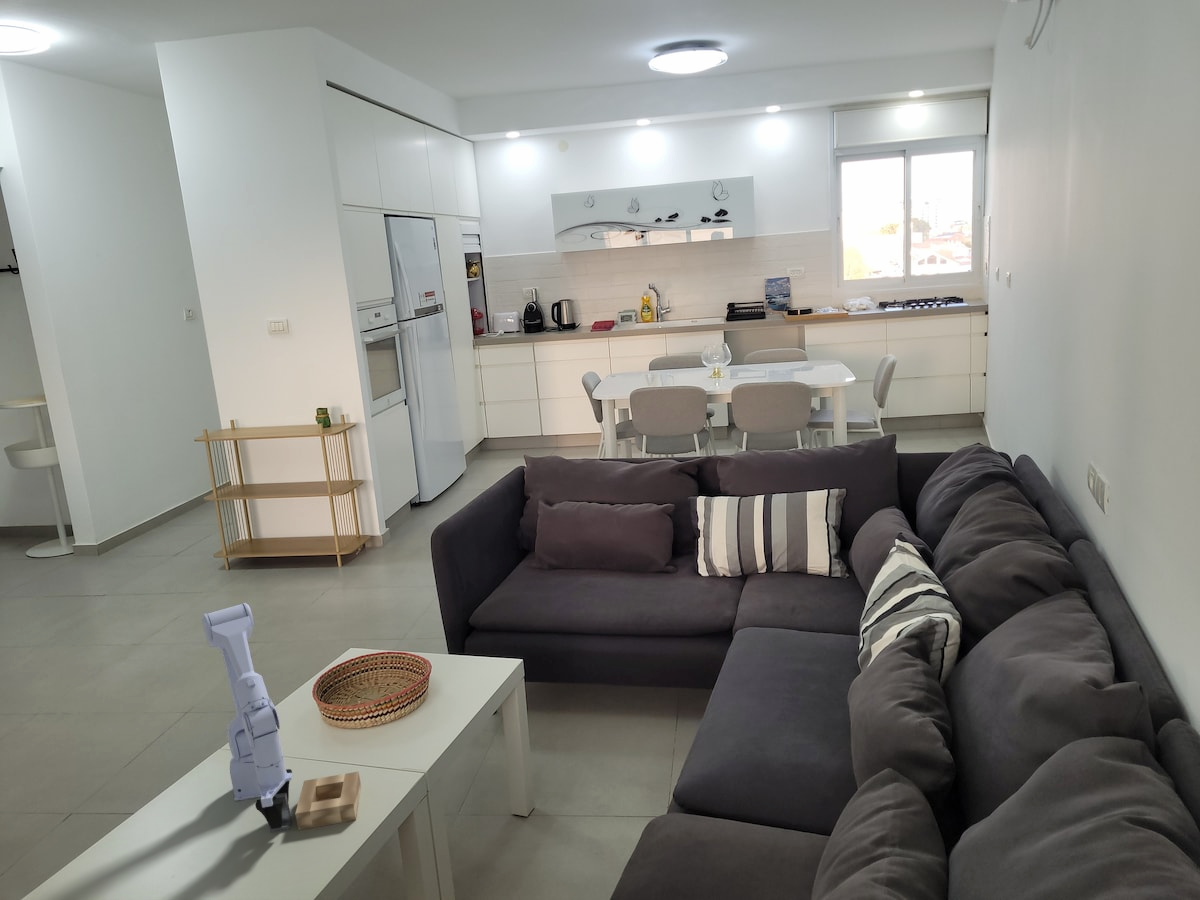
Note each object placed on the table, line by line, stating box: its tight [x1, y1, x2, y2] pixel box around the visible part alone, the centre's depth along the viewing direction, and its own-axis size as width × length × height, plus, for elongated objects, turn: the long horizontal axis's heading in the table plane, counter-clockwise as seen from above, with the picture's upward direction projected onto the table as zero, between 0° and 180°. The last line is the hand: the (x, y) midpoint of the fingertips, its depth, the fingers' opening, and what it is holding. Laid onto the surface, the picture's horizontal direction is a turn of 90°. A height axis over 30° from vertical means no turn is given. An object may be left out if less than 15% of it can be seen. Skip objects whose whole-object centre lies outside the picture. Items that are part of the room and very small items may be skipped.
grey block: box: [269, 793, 294, 833], centre depth 191 cm, size 4×4×7 cm
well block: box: [294, 771, 362, 831], centre depth 195 cm, size 12×12×4 cm
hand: (279, 816), depth 191 cm, fingers open, 7 cm apart
